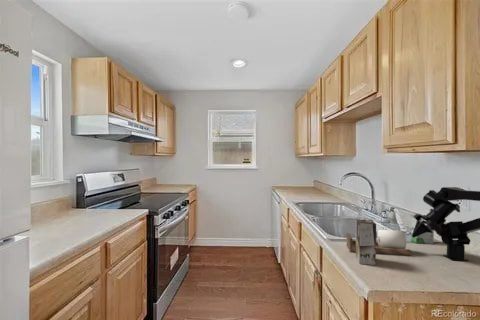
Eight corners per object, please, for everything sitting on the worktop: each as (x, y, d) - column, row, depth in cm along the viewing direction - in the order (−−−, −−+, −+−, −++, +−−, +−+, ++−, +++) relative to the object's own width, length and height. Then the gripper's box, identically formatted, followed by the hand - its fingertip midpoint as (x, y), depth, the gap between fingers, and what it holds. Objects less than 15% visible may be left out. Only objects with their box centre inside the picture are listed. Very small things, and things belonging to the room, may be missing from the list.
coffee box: (376, 265, 120) (376, 223, 120) (358, 264, 121) (359, 223, 121) (371, 257, 129) (371, 219, 129) (355, 256, 130) (355, 218, 130)
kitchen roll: (401, 246, 141) (401, 229, 141) (406, 251, 133) (406, 233, 133) (376, 245, 143) (377, 227, 143) (381, 250, 135) (381, 232, 135)
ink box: (416, 243, 151) (416, 219, 151) (411, 240, 156) (411, 217, 156) (434, 243, 151) (434, 219, 151) (428, 241, 156) (428, 217, 155)
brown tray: (402, 248, 142) (402, 235, 142) (409, 256, 131) (410, 242, 131) (346, 245, 147) (346, 232, 147) (349, 252, 136) (350, 238, 136)
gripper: (466, 231, 124) (435, 256, 126) (445, 221, 142) (419, 244, 144) (444, 210, 125) (414, 236, 128) (426, 204, 144) (400, 226, 146)
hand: (412, 236), depth 136 cm, fingers closed
